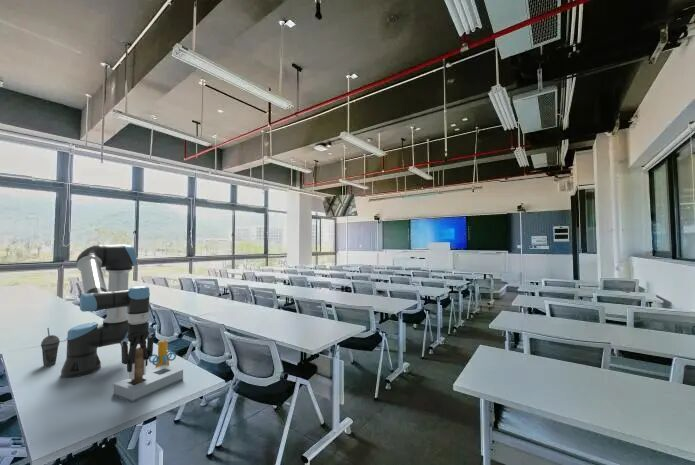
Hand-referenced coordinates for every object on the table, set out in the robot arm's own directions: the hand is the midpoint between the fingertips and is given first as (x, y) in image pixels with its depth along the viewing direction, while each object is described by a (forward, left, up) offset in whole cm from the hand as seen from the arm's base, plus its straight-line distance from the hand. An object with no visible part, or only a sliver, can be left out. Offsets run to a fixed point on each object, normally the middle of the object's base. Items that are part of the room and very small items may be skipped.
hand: (137, 376), depth 128 cm
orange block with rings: (-13, +19, -7) cm, 25 cm away
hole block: (0, +5, -7) cm, 9 cm away
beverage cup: (-76, -2, -7) cm, 76 cm away
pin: (0, 0, -4) cm, 4 cm away
